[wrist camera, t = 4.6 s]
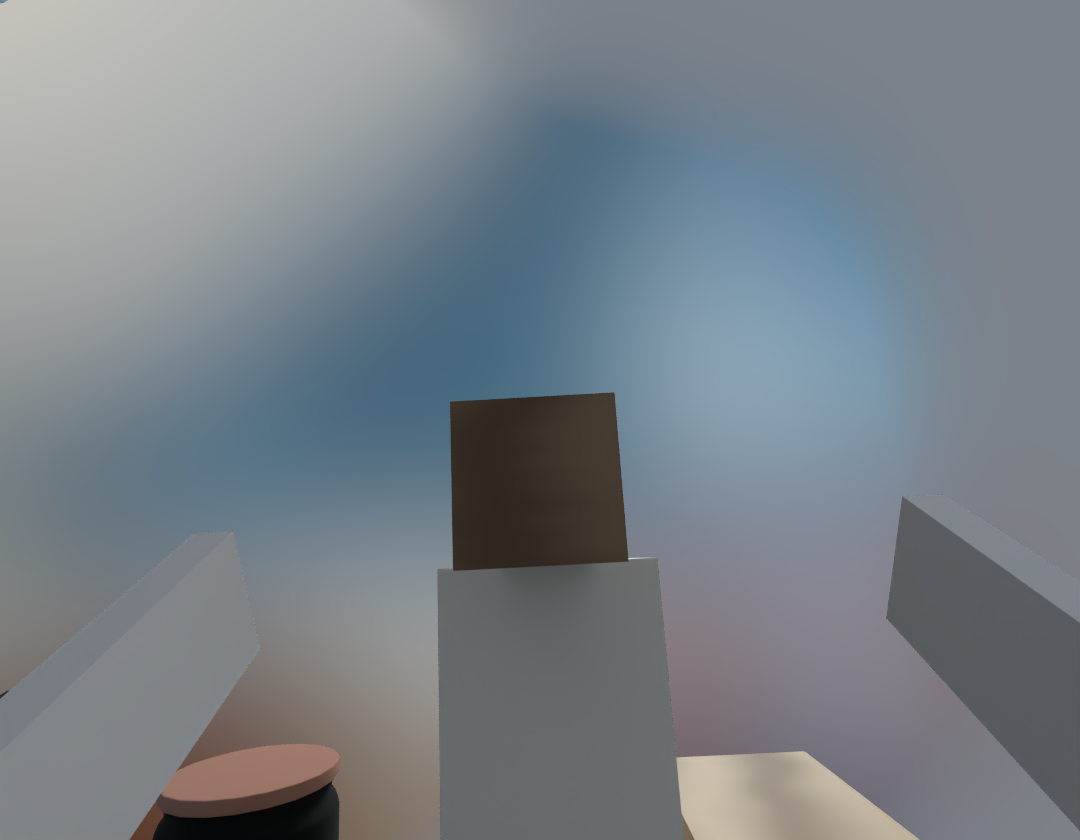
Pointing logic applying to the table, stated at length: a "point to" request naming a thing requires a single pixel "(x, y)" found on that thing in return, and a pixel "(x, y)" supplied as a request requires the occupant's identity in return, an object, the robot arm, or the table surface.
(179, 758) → the robot arm
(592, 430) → the walnut bar
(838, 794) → the oak block
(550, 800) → the white block
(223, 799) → the coffee jar
